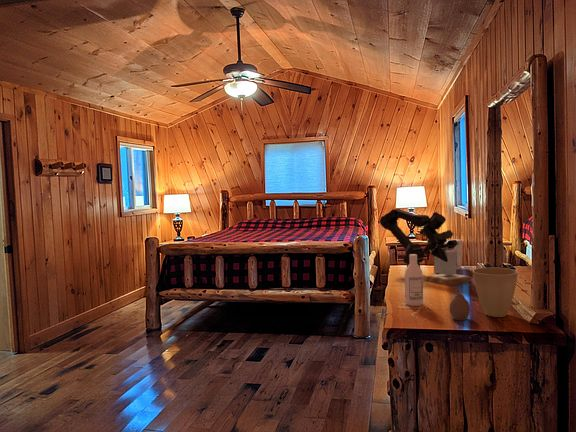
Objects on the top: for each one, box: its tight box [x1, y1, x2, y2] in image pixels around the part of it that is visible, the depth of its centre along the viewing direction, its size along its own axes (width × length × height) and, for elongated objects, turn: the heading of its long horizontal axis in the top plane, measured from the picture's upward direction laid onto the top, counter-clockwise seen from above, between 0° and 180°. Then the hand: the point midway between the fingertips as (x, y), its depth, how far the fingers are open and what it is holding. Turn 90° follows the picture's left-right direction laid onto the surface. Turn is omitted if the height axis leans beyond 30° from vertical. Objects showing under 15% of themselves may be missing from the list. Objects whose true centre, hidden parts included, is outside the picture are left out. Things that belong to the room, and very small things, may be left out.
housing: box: [441, 248, 457, 275], centre depth 227 cm, size 5×5×12 cm
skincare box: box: [433, 238, 463, 274], centre depth 253 cm, size 21×6×16 cm, turn 132°
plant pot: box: [472, 267, 519, 318], centre depth 171 cm, size 15×15×16 cm
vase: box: [448, 293, 471, 321], centre depth 168 cm, size 7×7×9 cm
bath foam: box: [404, 254, 424, 307], centre depth 189 cm, size 7×7×20 cm
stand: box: [426, 273, 472, 287], centre depth 228 cm, size 14×14×3 cm
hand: (450, 260), depth 226 cm, fingers closed on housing, 5 cm apart
